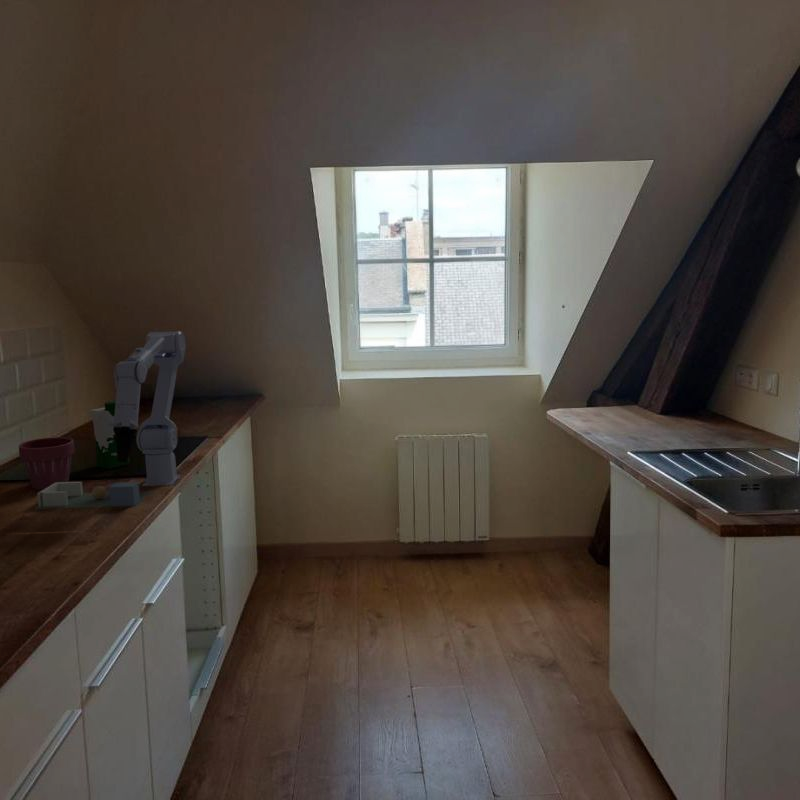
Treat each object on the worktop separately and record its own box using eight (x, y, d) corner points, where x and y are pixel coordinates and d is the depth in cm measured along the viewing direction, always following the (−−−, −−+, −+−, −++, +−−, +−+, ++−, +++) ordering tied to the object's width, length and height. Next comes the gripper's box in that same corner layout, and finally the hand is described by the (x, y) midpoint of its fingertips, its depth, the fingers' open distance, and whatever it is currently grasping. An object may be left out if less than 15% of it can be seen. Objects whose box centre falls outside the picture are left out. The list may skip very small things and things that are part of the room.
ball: (95, 497, 200) (94, 484, 199) (108, 496, 200) (107, 484, 199) (90, 501, 196) (89, 488, 196) (103, 500, 196) (102, 487, 196)
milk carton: (109, 470, 231) (103, 405, 227) (92, 466, 236) (85, 403, 233) (134, 464, 238) (128, 401, 235) (116, 460, 243) (111, 399, 240)
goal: (56, 495, 203) (55, 482, 203) (83, 494, 203) (81, 481, 203) (38, 506, 193) (37, 493, 193) (66, 505, 193) (64, 492, 193)
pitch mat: (56, 495, 204) (56, 494, 204) (153, 492, 204) (152, 491, 204) (33, 510, 191) (33, 508, 191) (136, 507, 191) (136, 505, 191)
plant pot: (80, 488, 211) (75, 443, 209) (24, 496, 205) (19, 450, 203) (75, 477, 224) (71, 434, 222) (22, 484, 217) (17, 440, 215)
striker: (116, 501, 195) (114, 482, 194) (139, 501, 195) (138, 482, 194) (110, 506, 191) (108, 487, 190) (134, 505, 191) (132, 486, 190)
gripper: (110, 411, 199) (105, 462, 196) (110, 399, 186) (105, 454, 183) (138, 413, 202) (134, 464, 198) (140, 401, 188) (136, 456, 185)
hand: (122, 459), depth 191 cm, fingers open, 7 cm apart
